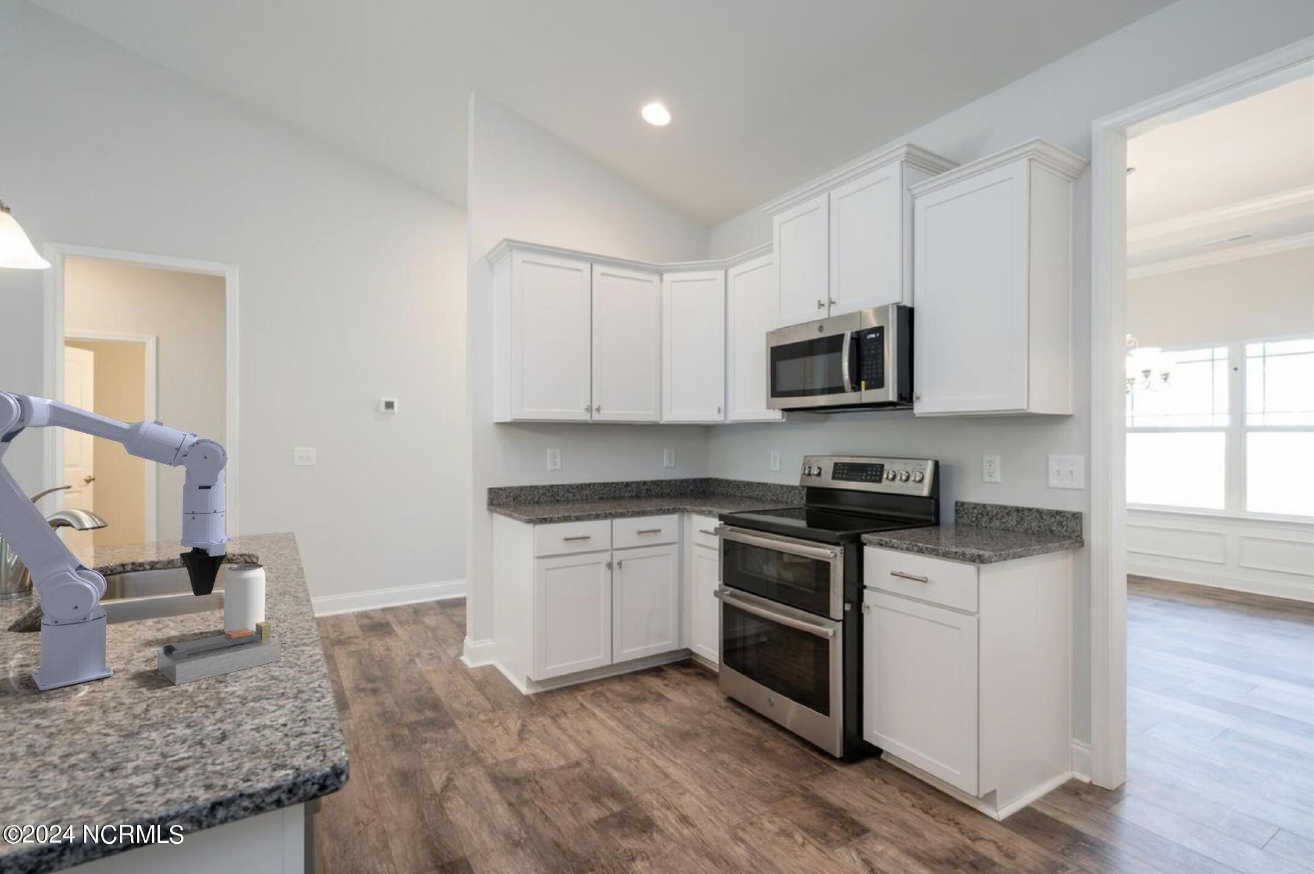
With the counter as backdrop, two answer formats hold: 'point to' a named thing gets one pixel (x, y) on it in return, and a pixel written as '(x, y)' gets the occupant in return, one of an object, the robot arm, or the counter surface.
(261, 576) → the can
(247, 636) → the grey slab
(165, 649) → the base block
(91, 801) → the counter surface
